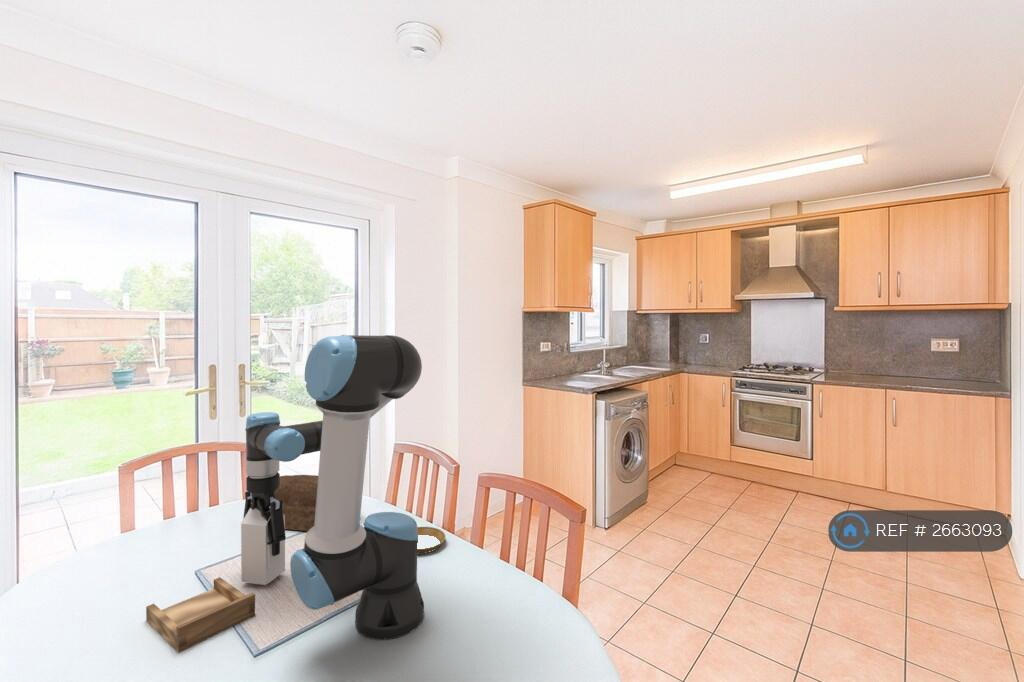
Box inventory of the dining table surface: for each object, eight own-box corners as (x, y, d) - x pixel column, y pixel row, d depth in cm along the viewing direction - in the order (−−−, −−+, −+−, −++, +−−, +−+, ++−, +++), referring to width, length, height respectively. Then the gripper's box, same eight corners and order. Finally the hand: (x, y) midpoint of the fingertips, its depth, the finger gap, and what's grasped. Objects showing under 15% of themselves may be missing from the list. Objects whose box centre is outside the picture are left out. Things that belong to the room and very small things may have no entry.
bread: (340, 537, 146) (341, 486, 145) (248, 527, 151) (248, 479, 150) (363, 518, 160) (363, 472, 160) (277, 510, 165) (278, 465, 165)
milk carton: (265, 585, 116) (265, 509, 116) (241, 582, 118) (240, 507, 117) (285, 571, 123) (285, 499, 123) (261, 568, 124) (261, 497, 124)
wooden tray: (255, 615, 106) (255, 593, 106) (178, 652, 94) (178, 628, 94) (219, 589, 116) (219, 570, 116) (146, 620, 104) (146, 598, 103)
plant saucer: (453, 549, 140) (454, 540, 140) (406, 563, 131) (406, 553, 131) (432, 530, 152) (432, 522, 152) (388, 542, 144) (388, 533, 143)
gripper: (301, 478, 116) (301, 567, 117) (256, 463, 129) (256, 544, 129) (271, 486, 110) (271, 581, 111) (227, 469, 123) (227, 555, 123)
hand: (263, 561), depth 120 cm, fingers closed on milk carton, 9 cm apart
